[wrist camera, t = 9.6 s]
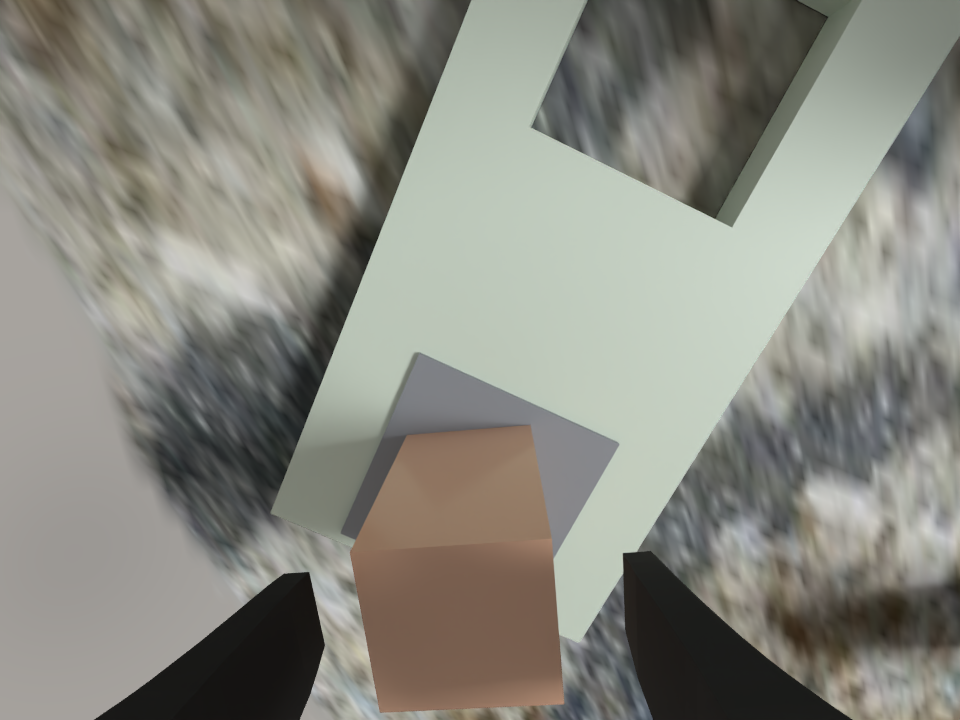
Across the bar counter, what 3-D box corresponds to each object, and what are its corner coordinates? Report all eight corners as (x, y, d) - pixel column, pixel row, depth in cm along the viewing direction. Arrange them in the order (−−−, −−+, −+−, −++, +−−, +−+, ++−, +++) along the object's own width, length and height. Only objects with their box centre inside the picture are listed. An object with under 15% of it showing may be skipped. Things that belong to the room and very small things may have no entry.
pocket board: (925, 33, 13) (985, 3, 12) (572, 611, 18) (580, 647, 17) (552, -170, 13) (559, -232, 11) (289, 491, 18) (267, 516, 16)
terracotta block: (530, 424, 15) (552, 538, 9) (539, 535, 16) (563, 704, 10) (406, 435, 15) (350, 552, 9) (422, 543, 16) (380, 712, 10)
